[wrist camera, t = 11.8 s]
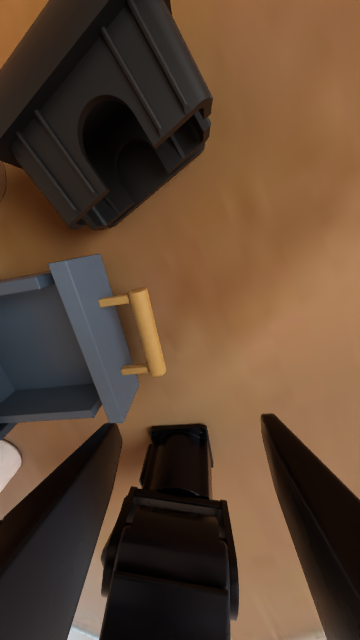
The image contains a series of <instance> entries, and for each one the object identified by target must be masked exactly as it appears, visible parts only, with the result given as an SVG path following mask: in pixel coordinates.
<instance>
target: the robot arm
mask: <svg viewBox="0 0 360 640" xmlns="http://www.w3.org/2000/svg"><path fill="white" fill-rule="evenodd" d="M202 429H203V430H202ZM261 432H262V438H263V442H264V447H265V451H266V455H267V459H268V463H269V467H270V472H271V476H272V480H273V484H274V487H275V491H276V494H277V497H278V500H279V503H280V506H281V509H282V512H283V514H284V517H285V520H286V523H287V526H288V529H289V532H290V534H291V537H292V540H293V543H294V546H295V549H296V552H297V555H298V557H299V560H300V563H301V566H302V569H303V572H304V575H305V578H306V580H307V583H308V586H309V589H310V592H311V595H312V598H313V600H314V603H315V606H316V609H317V612H318V615H319V618H320V621H321V623H322V626H323V629H324V632H325V635H326V638H327V640H360V500H359V499H358V498H357V497H356V496H355V495H354V494H353V493H352V492H351V491H350V490H349V489H348V488H347V487H346V486H345V485H344V484H343V483H342V482H341V481H340V480H339V479H338V478H337V477H336V476H335V475H334V474H333V473H332V472H331V471H330V470H329V469H328V468H327V467H326V466H325V465H324V464H323V463H322V462H321V461H320V460H319V459H318V458H317V457H316V456H315V455H314V454H313V453H312V452H311V451H310V450H309V449H308V448H307V447H306V446H305V445H304V444H303V443H302V442H301V441H300V440H299V439H298V438H297V437H296V436H295V435H294V434H293V433H292V432H291V431H290V430H289V429H288V428H287V427H286V426H285V425H284V424H283V423H282V422H281V421H280V420H279V419H278V418H277V417H276V416H275V415H274V414H272V413H271V414H262V415H261ZM149 433H150V437H151V440H152V444H149V445H148V448H147V452H146V456H145V460H144V464H143V468H142V472H141V476H140V479H139V482H140V484H141V487H142V489H138V488H137V487H133V486H131V488H130V491H129V493H128V496H126V497H125V498H124V501H123V504H122V508H121V511H120V514H119V516H118V519H117V522H116V524H115V526H114V528H113V530H112V533H111V535H110V537H109V539H108V541H107V543H106V545H105V547H104V549H103V551H102V555H101V562H102V565H103V568H104V570H103V581H102V589H101V595H102V597H107V603H106V608H105V613H104V618H103V623H102V629H101V634H100V639H99V640H230V620H231V621H236V620H237V616H238V607H239V584H238V568H237V559H236V552H235V546H234V540H233V535H232V529H231V523H230V517H229V512H228V506H227V501H226V500H220V501H218V500H212V475H211V468H212V467H213V458H212V453H211V447H210V441H209V435H208V430H207V426H206V425H184V426H165V427H152V428H151V429H150V432H149ZM121 448H122V437H121V434H120V431H119V429H118V426H117V424H116V423H106V424H104V425H103V426H101V427H100V428H99V429H98V430H97V431H96V432H95V433H94V434H93V435H92V436H91V437H90V438H89V439H87V440H86V441H85V442H84V443H83V444H82V445H81V446H80V447H79V448H78V449H77V450H76V451H75V452H73V453H72V454H71V455H70V456H69V457H68V458H67V459H66V460H65V461H64V462H63V463H62V464H61V465H59V466H58V467H57V468H56V469H55V470H54V471H53V472H52V473H51V474H50V475H49V476H48V477H47V478H45V479H44V480H43V481H42V482H41V483H40V484H39V485H38V486H37V487H36V488H35V489H34V490H33V491H32V492H30V493H29V494H28V495H27V496H26V497H25V498H24V499H23V500H22V501H21V502H20V503H19V504H18V505H16V506H15V507H14V508H13V509H12V510H11V511H10V512H9V513H8V514H7V515H6V516H5V517H4V518H3V520H0V640H67V638H68V634H69V631H70V628H71V625H72V621H73V618H74V615H75V612H76V608H77V605H78V602H79V598H80V595H81V592H82V589H83V585H84V582H85V579H86V576H87V572H88V569H89V566H90V563H91V559H92V556H93V553H94V549H95V546H96V543H97V540H98V536H99V533H100V530H101V527H102V523H103V520H104V517H105V514H106V510H107V507H108V504H109V500H110V497H111V493H112V490H113V486H114V481H115V476H116V472H117V467H118V462H119V457H120V453H121Z"/></svg>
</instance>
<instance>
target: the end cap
mask: <svg viewBox="0 0 360 640" xmlns="http://www.w3.org/2000/svg"><path fill="white" fill-rule="evenodd" d="M212 101H213V97H212V95H211V93H210V91H209V89H208V87H207V85H206V83H205V81H204V79H203V77H202V75H201V73H200V71H199V69H198V67H197V65H196V63H195V61H194V59H193V57H192V55H191V53H190V51H189V49H188V47H187V45H186V43H185V41H184V39H183V37H182V35H181V33H180V31H179V29H178V27H177V25H176V23H175V21H174V19H173V17H172V12H171V4H170V0H49V1H48V3H47V4H46V6H45V7H44V8H43V10H42V11H41V13H40V14H39V16H38V17H37V18H36V20H35V21H34V23H33V24H32V26H31V27H30V28H29V30H28V31H27V33H26V34H25V36H24V37H23V38H22V40H21V41H20V43H19V44H18V46H17V47H16V48H15V50H14V51H13V53H12V54H11V56H10V57H9V58H8V60H7V61H6V63H5V64H4V65H3V67H2V68H1V70H0V161H3V162H5V163H8V164H11V165H14V166H16V167H19V168H22V169H24V170H25V172H26V173H27V174H28V176H29V177H30V178H31V179H32V181H33V182H34V183H35V185H36V186H37V187H38V188H39V190H40V191H41V192H42V194H43V195H44V196H45V197H46V199H47V200H48V201H49V203H50V204H51V205H52V206H53V208H54V209H55V210H56V211H57V213H58V214H59V215H60V217H61V218H62V219H63V220H64V222H65V223H66V224H67V226H68V227H69V228H70V229H83V228H84V227H85V226H86V224H85V222H86V223H87V225H88V226H89V227H90V228H91V229H92V230H102V229H104V228H106V227H114V226H116V225H117V224H118V223H119V222H120V221H121V220H123V219H124V218H125V217H126V216H127V215H129V214H130V213H131V212H132V211H133V210H134V209H136V208H137V207H138V206H139V205H140V204H142V203H143V202H144V201H145V200H146V199H147V198H149V197H150V196H151V195H152V194H153V193H155V192H156V191H157V190H158V189H159V188H160V187H162V186H163V185H164V184H165V183H166V182H167V181H169V180H170V179H171V178H172V177H173V176H175V175H176V174H177V173H178V172H179V171H180V170H182V169H183V168H184V167H185V166H186V165H188V164H189V163H190V162H191V161H192V160H193V159H195V158H196V157H197V156H198V155H199V154H201V152H202V151H203V150H204V146H205V142H206V140H207V139H208V137H209V132H210V125H211V122H210V120H209V118H208V116H209V115H210V114H211V106H212ZM81 217H82V218H83V219H84V221H85V222H84V221H83V220H82V218H81Z"/></svg>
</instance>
